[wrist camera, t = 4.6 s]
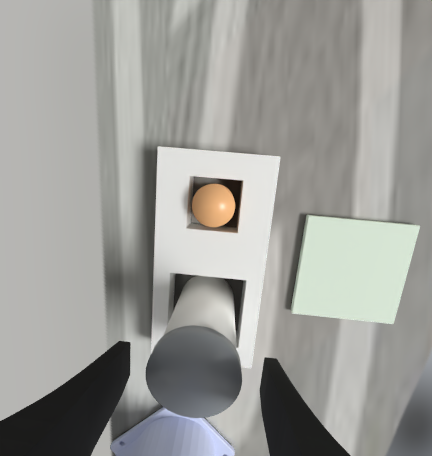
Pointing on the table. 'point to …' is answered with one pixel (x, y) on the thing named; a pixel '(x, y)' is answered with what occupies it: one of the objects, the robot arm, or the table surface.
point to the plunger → (213, 205)
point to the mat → (352, 268)
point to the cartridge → (198, 352)
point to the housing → (212, 233)
